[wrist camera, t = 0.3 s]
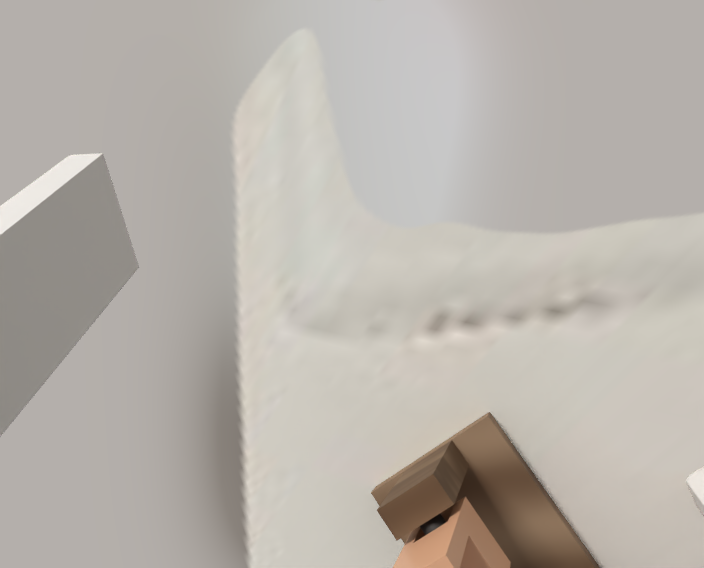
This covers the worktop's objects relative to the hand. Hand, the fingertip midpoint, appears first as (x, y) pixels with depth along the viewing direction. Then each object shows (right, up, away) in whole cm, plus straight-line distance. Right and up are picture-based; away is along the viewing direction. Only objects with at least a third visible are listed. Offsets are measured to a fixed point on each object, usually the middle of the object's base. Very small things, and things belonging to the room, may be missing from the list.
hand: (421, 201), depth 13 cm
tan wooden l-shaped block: (+5, -17, +27) cm, 33 cm away
